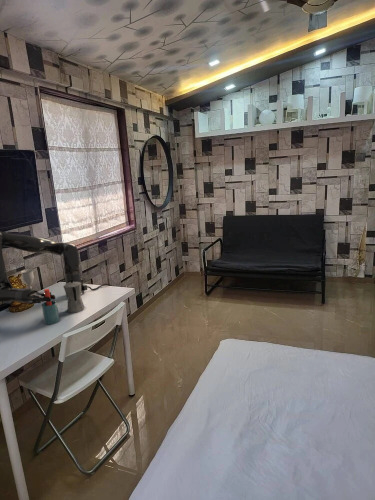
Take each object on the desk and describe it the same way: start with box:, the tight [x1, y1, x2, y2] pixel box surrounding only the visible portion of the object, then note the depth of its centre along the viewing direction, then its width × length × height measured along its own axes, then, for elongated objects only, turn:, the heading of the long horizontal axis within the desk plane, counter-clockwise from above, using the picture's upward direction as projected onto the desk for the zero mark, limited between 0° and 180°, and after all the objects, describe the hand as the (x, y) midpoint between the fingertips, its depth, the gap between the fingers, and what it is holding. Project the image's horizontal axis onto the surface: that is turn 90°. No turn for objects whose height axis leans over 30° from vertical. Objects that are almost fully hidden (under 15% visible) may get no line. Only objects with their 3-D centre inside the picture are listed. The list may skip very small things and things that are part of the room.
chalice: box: [20, 268, 35, 289], centre depth 206 cm, size 7×7×18 cm
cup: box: [41, 300, 61, 325], centre depth 172 cm, size 7×7×10 cm
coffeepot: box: [63, 279, 85, 314], centre depth 183 cm, size 15×9×18 cm, turn 25°
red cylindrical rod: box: [43, 288, 52, 306], centre depth 170 cm, size 2×2×14 cm
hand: (52, 298), depth 169 cm, fingers closed on red cylindrical rod, 2 cm apart
